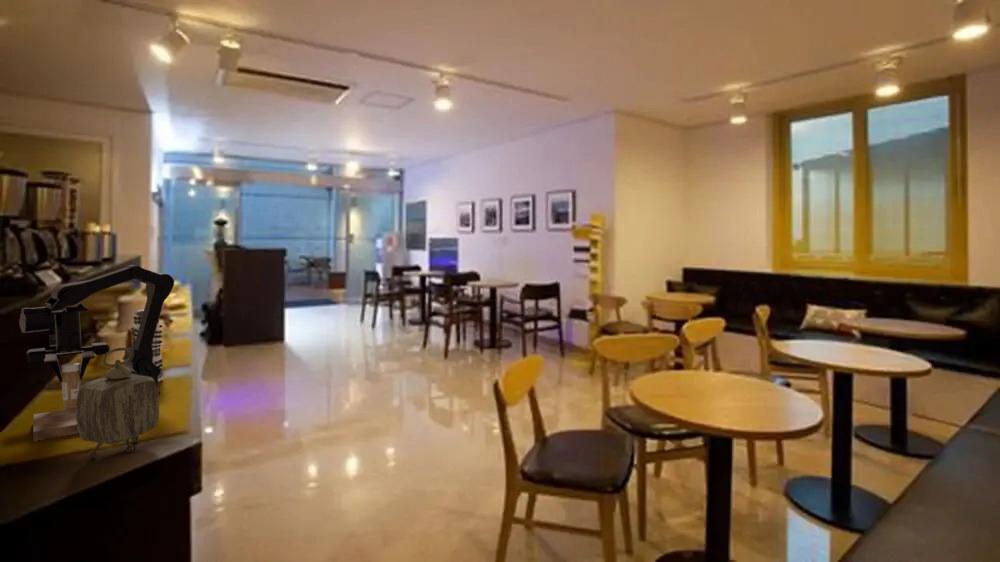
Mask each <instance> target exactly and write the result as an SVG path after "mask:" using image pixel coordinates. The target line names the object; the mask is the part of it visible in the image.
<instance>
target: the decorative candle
mask: <svg viewBox="0 0 1000 562" xmlns="http://www.w3.org/2000/svg"><path fill="white" fill-rule="evenodd" d="M144 309H145V308H144ZM144 309H138V310H136V311H135V313H133V314H132V318H133V323H132V325H133V326H132V327H130V330H131V335H132V336H133V337H131V340H132V341H133V342H132V345H133V344H134V343H135V341H136V338H137V334H138V330H139V327H140V323H141V320H142V316H143V312H144ZM161 328H163V325H161V322H160V319H159V320H158V324H157V327H156V331H155V335H154V338H153V342H152V350H153V364H155V365H156V366H157V367H159V368H160V369H161V372H160V375H159V376H158V382H161V381H163V380H164V377H163V376H164V373H163V372H164V368H162V367H163V365H164V364H163V363H162V362H164V361H163V360H164V359H162V354H161V352H162V351H161V348H162V347H163V345H162V343H163V340H161V338H163V335H162V334H163V331H162V330H161Z"/></svg>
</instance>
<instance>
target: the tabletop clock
mask: <svg viewBox="0 0 1000 562" xmlns="http://www.w3.org/2000/svg"><path fill="white" fill-rule="evenodd" d="M119 351H120V352H121V351H124V352H125V351H127V352H128V353H129V358H128V359H127V360H125V361H124V360H122V361H121V360H120V359H116V360H115V361H114V362H115V363H108V362H106V359H107V357H108V356H109V355H111V354H112V353H114V352H119ZM131 356H132V354H131V351H130V350H129V349H127V348H126V347H116V348H113V349H110V351H109V352H107V353H106V354H104V356H103V359H102V363H103V365H105V366H107V367H110V369H108V371H107V372H106V374H105V376H103V377H100V378H97V379H94V380H90V381H88V382H86V383H84V384H83V385H81V387H80V388H79V391H78V394H77V399H76V420H77V427H78V432H79V434H78V435H79V437H80V438H81V440H82V441H86V442H92V443H97V444H96V446H95V447H94V449H93V450H92V451H90V452H88V455H87V457H88V458H89V459H91V458H92V459H94V458H95V457H97V454H98V453H97V451H98V450H99V449H100V447H102V445H116V444H120V443H123V442H125V443H126V447H125V452H126V453H128V452H130V453H132V452H133V451H134V450H135V449H134V446H133V445H131V441H132V442H133V443H135V441H136V442H137V441H139V439H140V437H139V436H141V435H144V433H147V432H149V431H152V429H154V428H155V427H156V426H158V423H159V418H160V399H159V394H158V391H159V387H158V388H157V385H156V382H155V381H154V379H153V378H152V377H148V376H140V375H135V374H132V373H131V371H130V370H129V369H128V368H126V367H125V366H123V365H124V364H125V363H127V362H128V361H129V360H130V359H131ZM130 440H131V441H130ZM131 451H132V452H131Z"/></svg>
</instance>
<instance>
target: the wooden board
mask: <svg viewBox="0 0 1000 562" xmlns="http://www.w3.org/2000/svg"><path fill="white" fill-rule="evenodd" d="M32 426H33V429H32V430H33V431H32V436H33V442H39V441H38V440H40V441H44V440H45V439H46V440H52V439H54V438H55V439H56V437H57V438H61V437H67V435H68V436H73V435H72V434H74V435H79V434H78V433H79V432H78V427H77V420H76V408H72V409H66V410H63V409H61V410H53V411H47V412H42V413H40V412H39V413H34V414H33V425H32Z"/></svg>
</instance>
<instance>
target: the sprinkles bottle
mask: <svg viewBox="0 0 1000 562" xmlns="http://www.w3.org/2000/svg"><path fill="white" fill-rule="evenodd" d="M80 367H81V363H79V362H69V363H64V364H61V365H59V368H60V372H61V377H62V382H61V391H62V392H61V393H62V395H61V396H62V402H63V408H62V410H66V409H72V408H76V399H77V394H78V391H79V388H80V387H81V386H82V383H81V380H80Z"/></svg>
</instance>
